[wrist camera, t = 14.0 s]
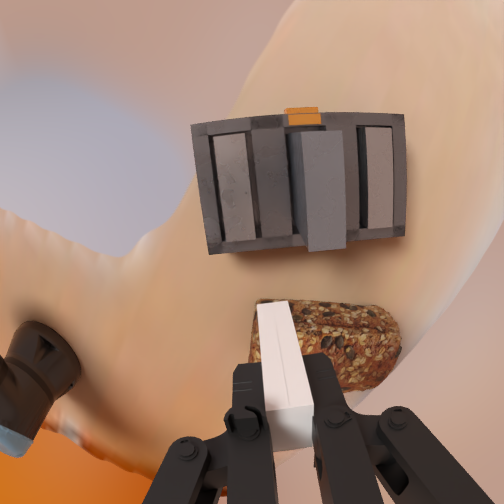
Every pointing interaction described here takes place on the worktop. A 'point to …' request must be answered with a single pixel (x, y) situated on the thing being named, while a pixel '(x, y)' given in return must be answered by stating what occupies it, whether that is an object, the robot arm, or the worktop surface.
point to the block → (318, 188)
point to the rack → (278, 184)
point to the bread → (342, 339)
